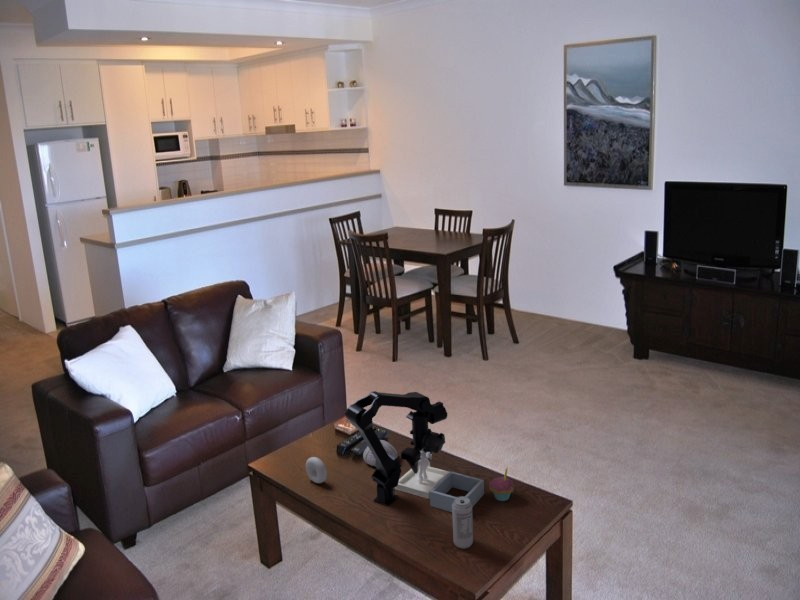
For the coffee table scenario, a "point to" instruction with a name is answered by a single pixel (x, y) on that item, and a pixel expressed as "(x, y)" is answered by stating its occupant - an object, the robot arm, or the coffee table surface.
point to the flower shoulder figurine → (423, 465)
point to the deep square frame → (460, 482)
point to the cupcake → (501, 487)
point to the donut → (321, 471)
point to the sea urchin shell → (371, 459)
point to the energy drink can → (462, 522)
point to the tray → (421, 489)
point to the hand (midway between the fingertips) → (422, 467)
